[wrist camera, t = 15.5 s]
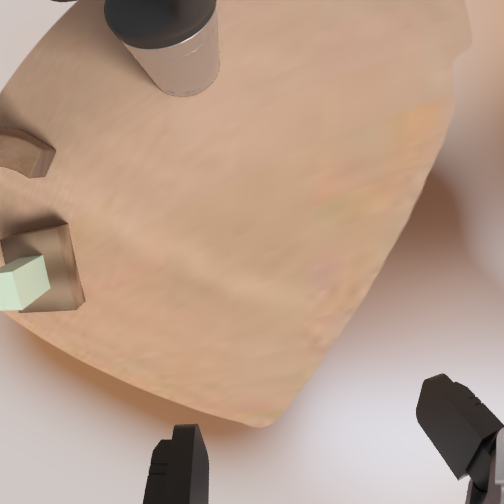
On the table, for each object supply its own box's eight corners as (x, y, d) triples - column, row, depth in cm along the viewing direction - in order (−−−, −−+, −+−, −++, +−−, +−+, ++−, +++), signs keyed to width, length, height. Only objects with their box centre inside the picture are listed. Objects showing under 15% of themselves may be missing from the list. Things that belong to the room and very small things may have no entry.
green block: (19, 258, 37) (-13, 274, 29) (42, 254, 37) (12, 271, 29) (26, 289, 38) (-3, 310, 30) (50, 288, 38) (22, 310, 30)
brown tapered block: (13, 234, 40) (0, 239, 36) (69, 223, 40) (56, 227, 36) (31, 303, 43) (19, 312, 39) (86, 299, 43) (76, 310, 39)
